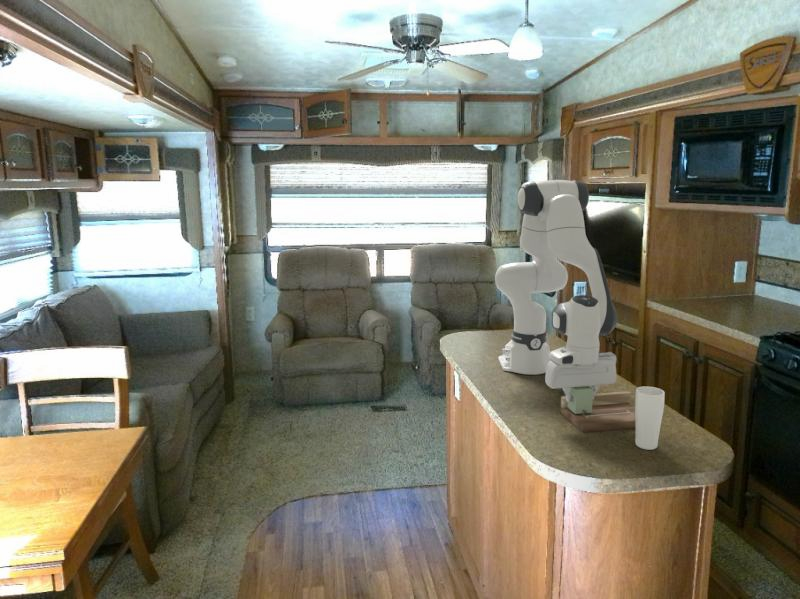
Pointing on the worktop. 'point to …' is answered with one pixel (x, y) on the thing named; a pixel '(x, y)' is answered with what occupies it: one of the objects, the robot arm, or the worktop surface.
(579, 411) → the block
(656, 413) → the drinking glass
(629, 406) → the walnut board
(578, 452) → the worktop surface
